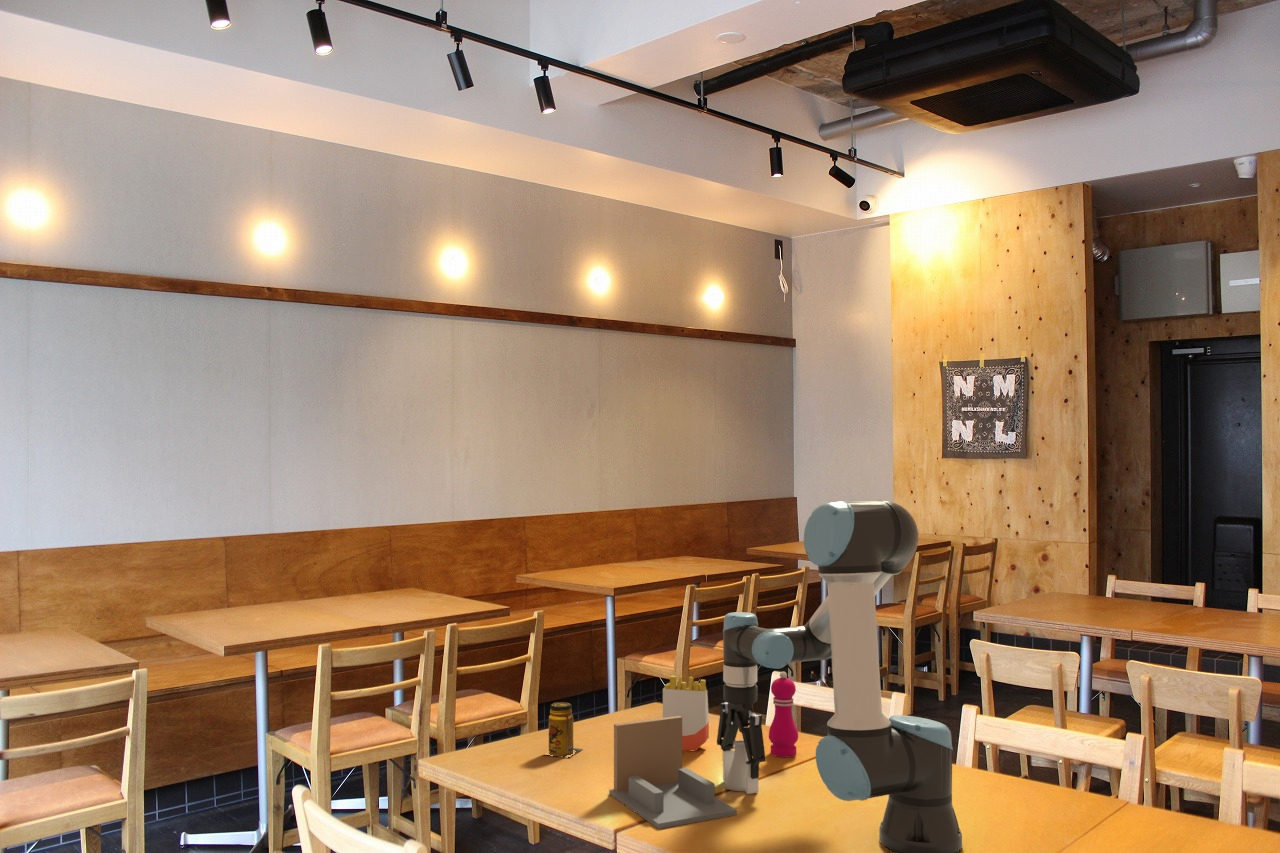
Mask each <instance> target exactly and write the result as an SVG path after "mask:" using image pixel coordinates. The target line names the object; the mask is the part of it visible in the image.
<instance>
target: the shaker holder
mask: <svg viewBox="0 0 1280 853" xmlns="http://www.w3.org/2000/svg"><path fill="white" fill-rule="evenodd" d="M715 787H716V786H715V782H713V781H711V780H709V779H707V778H705V776H702V775H700V774H698V773H696V772H695V771H693V770H691V769H689V768H688V767H683V750H682V717H681V716H673V717H665V718H663V717H658V718H657V717H656V718H652V719H651V718H650V719H644V720H635V721H627V722H620V723H618V722H617V723H613V788H611V789H609V790H608V792H609V794H608V795H609V796H611V795H612V796H613V797H612V796H611V797H612V798H614V799H615V798H616V799H615V800H617V801H618V800H619V801H618V802H620V803H621V802H622V803H623V804H622V803H621V804H622V805H624V804H625V805H626V806H625V805H624V806H625V807H627V808H628V809H630V810H631V811H632V810H633V812H634V811H635V812H636V813H635V812H634V813H635V814H637V813H638V814H639V815H638V814H637V815H638V816H639V817H641V818H642V817H643V818H642V819H643V820H645V821H646V822H648V823H649V824H651V825H652V826H654V827H655V828H657V829H658V830H660V829H661V830H662V829H665V828H671V827H677V826H682V825H688V824H692V823H698V822H705V821H708V820H715V819H720V818H726V817H731V816H738V815H737V814H738V810H737V809H736V808H735V807H733V806H731V805H729V804H728V803H726V802H724V801H722V800H721V799H719V798H718V797H716V796H715V792H716V791H715V789H716V788H715Z"/></svg>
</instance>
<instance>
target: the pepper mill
mask: <svg viewBox="0 0 1280 853" xmlns="http://www.w3.org/2000/svg"><path fill="white" fill-rule="evenodd" d="M796 688H797V687H796V685H795V683H794V681H793V680H792V679H790V678H788V674H787V672H786V671H781V672H780V673H779V677H777V678H776V679H774V680H773V682H772V683H771V685H770V691H771V694H772V695H773V696H774V697H773V698H772V700H773V702H772V704H773V705H774V714H773V715H774V716H773V720H772V722H771V723H770V727H769V729H768V739H769V741H770V742H771V743H772V744H771V745H770V754H771V755H772V756H774V757H779V758H791V757H794V756H796V755H797V746H796V745H795V744H796V743H797V742H798V740H799V730H798V728H797V725H796V723H795V720H794V717H793V710H792V709H793V708H792V707H793V705H794V700H795V699H794V698H793V697H794V695H795V694H796V691H797V689H796Z"/></svg>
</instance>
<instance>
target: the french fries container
mask: <svg viewBox="0 0 1280 853" xmlns="http://www.w3.org/2000/svg"><path fill="white" fill-rule="evenodd" d="M677 677H678V678H677ZM677 679H678V681H677ZM706 681H707V680H706V679H700V681H694V676H689V677H688V687H687V682H685V681H683V676H680V675H679V676H677V675H670V677H669V682H667V683H666V684H664V687H663V688H662V718H665V717H673V716H681V717H682V751H686V750H694V751H693V752H695V751H697V750H698V749H699V748H700V747H701V746H703V745H704V744H705V743H707V740H708V739H709V737H710V736H709V734H710V733H709V732H710V729H709V728H710V723H709V722H710V721H709V720H710V719H709V717H710V716H709V702H708V701H709V698H708V696H709V695H708V689H707V686H706Z"/></svg>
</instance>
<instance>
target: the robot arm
mask: <svg viewBox="0 0 1280 853" xmlns="http://www.w3.org/2000/svg"><path fill="white" fill-rule="evenodd" d="M918 545H919V529H918V526H917V523H916V521H915V519H914V517H913V516H912V514H911V512H909V511H908V510H907V509H906V508H905V507H904V506H903V505H900V504H898V503H896V502H893V501H888V500H876V501H874V500H873V501H872V500H871V501H868V500H867V501H844V500H843V501H841V500H840V501H835V502H826V503H823V504H820V505H818V506H817V507H816V508H814V510H813V511H812V512H811V515H810V516H809V517H808V518H807V521H806V524H805V526H804V531H803V548H804V552H805V554H806V555H807V558H808V560H809V561H810V562H811V563H812V564H813V565H815V566H817V569H818V576H819V577H820V578H821V579H822V580H823V581H825V582H826V585H827V596H826V598H825V599H824V600H823V601H822V602H821V604H820V605H819V606H818V607H817V609H816V610H815V612H814V613H813V615H812V616H811V617H810V618H809V619H808V621H807V622H806V623H805V624H804V625H799V626H797V625H796V626H789V627H787V626H785V627H776V628H775V627H774V628H764V627H759V622H758V617H757V615H756V614H755V613H751V612H747V611H745V612H744V611H743V612H742V611H736V612H729V613H727V614H725V615H724V617H723V629H722V635H723V637H722V638H723V639H722V641H723V642H722V645H723V657H722V658H723V669H722V670H723V671H722V673H723V676H722V679H723V682H724V684H723V687H722V688H723V692H722V693H723V694H722V695H723V696H722V697H723V698H722V699H723V701H724V702H721V703H719V719H718V728H717V729H718V730H717V737H716V745H717V746H720V749H721V750H722V781H724V782H725V781H726V779H727V776H728V773H729V770H730V767H731V764H732V761H733V758H734V752H735V745H734V743H733V741H735V740H736V738H737V734H738V732H740V733H741V736H742V740H744V744H745V749H746V753H747V757H748V761H747V762H746V791H745V793H746V794H747V795H751V794H757V793H759V777H760V763H765V762H766V752H765V745H764V744H765V743H764V735H763V734H764V733H763V728H762V727H763V726H762V725H763V724H762V722H763V716H762V714H756V713H755V712H754V711H755V710H754V705H755V703H756V702H757V701H758V685H757V682H758V665H760V666H762V667H765V668H767V669H768V668H769V669H777V670H778V669H783V668H785V667H786V666H787V665H789V664H793V663H799V662H811V661H826V660H829V659H831V669H832V683H833V684H832V686H833V704H834V714H833V715H832V716H831V718H830V719H828V721H827V723H826V726H827V735H824V737H823V738H820V740H819V741H818V743H817V744H818V745H817V746H816V747H815V748H816V749H815V761H816V762H815V763H816V767H817V771H818V774H819V777H820V778H821V780H822V783H823V784H824V785H825V786H826V789H827V790H828V791H829V793H831V794H832V795H833V796H834V797H835V798H837V799H839V800H842V801H844V802H845V801H846V802H852V801H853V802H854V801H860V802H861V801H866V800H868V799H871V798H873V799H874V798H878V797H883V796H888V801H887V803H886V807H885V810H884V814H883V818H882V821H881V823H880V824H879V834H878V835H879V837H878V838H879V842H880V843H881V844H882V846H884V847H885V848H887V849H889V850H891V851H894V852H896V853H956V852H958V851H959V850H960V849H961V848H963V834H962V831H961V829H960V827H959V822H958V818H957V815H956V812H955V809H954V806H953V751H954V749H953V745H952V732H951V730H950V728H949V727H948V726H947V725H946V724H944V723H942V722H939V721H936V720H932V719H929V718H925V717H924V718H923V717H919V716H913V715H898V714H897V715H891V716H890V717H889V718H887V716H885V715H884V713H883V707H882V706H883V705H882V692H881V675H880V659H879V658H880V657H879V642H878V640H879V639H878V627H877V611H876V610H877V609H876V596H877V594H878V593H879V592H880V590H881V589H883V586H884V585H885V584H886V583H887V582H888V581H889V579H890V578H891V577H893V576H895V575H899V574H900V573H902V572H903V571H904V569H905V568H906V567H907V566H908V565H909V563H910V562H911V561H912V559H913V557H914V555H915V553H916V552H917V548H918ZM961 850H962V849H961ZM961 850H960V851H961ZM960 851H959V852H960ZM959 852H958V853H959Z"/></svg>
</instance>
